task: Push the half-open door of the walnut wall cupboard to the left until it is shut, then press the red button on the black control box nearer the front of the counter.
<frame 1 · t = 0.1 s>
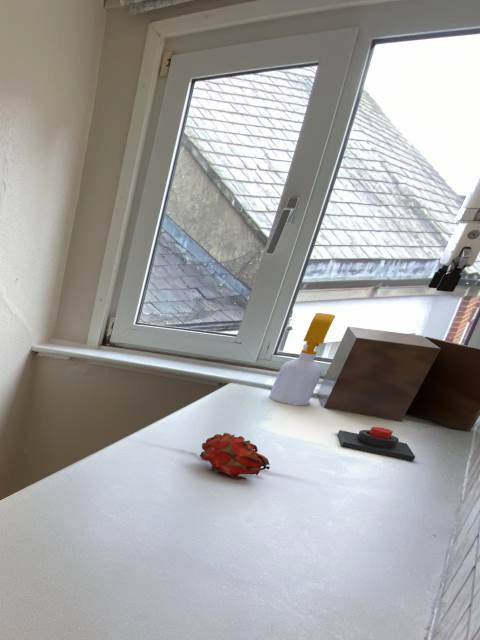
hand: (439, 289, 143), 32 cm above the counter, tool pointing down, fingers open, 9 cm apart
button: (380, 433, 122), point 4 cm above the counter, slide at 0.1 cm
control box: (370, 451, 124), on the counter
dragon fruit: (226, 474, 109), on the counter
soap bottle: (286, 404, 155), on the counter
door: (455, 383, 144), point 10 cm above the counter, hinge at 35.0°
cupboard: (354, 408, 154), on the counter
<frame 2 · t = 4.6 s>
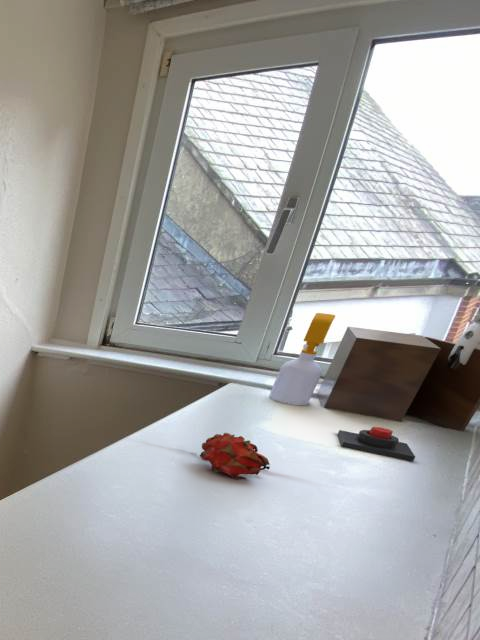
hand: (455, 391, 144), 8 cm above the counter, tool pointing down, fingers closed
door: (452, 383, 144), point 10 cm above the counter, hinge at 30.9°, touching gripper
everything else where it was.
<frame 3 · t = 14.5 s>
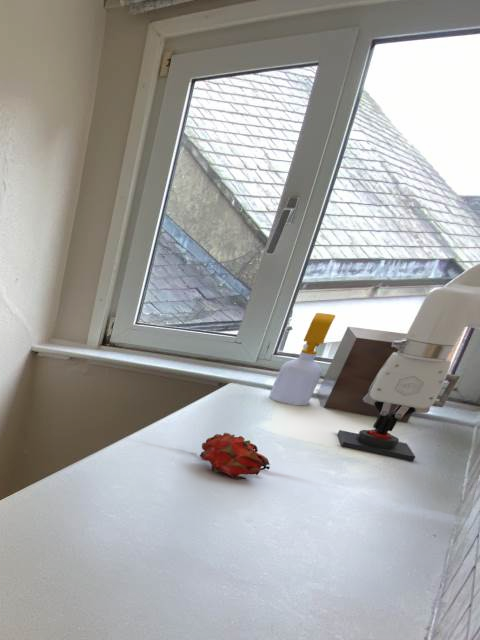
hand: (380, 432, 122), 5 cm above the counter, tool pointing down, fingers closed
button: (378, 436, 122), point 4 cm above the counter, slide at -0.6 cm, touching gripper
door: (427, 381, 144), point 10 cm above the counter, hinge at -0.4°
everything else where it was.
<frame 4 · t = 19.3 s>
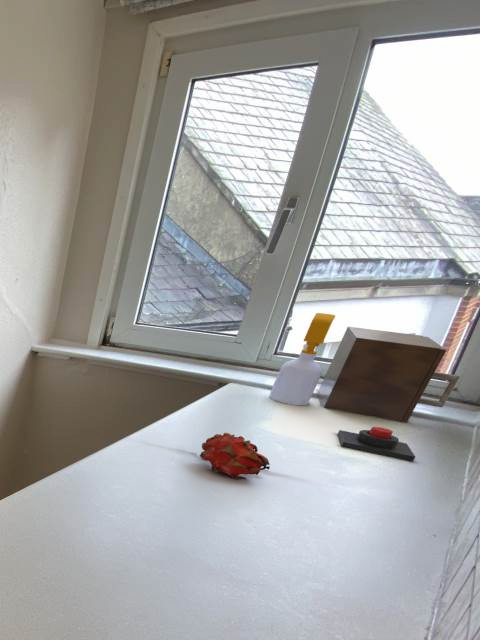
button: (380, 433, 122), point 4 cm above the counter, slide at 0.1 cm
everything else where it was.
at the end: door at +0° (first picture: +35°); button pushed in 1.1 cm at the most during the clip, back to where it started at the end; button slide at 0.1 cm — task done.
